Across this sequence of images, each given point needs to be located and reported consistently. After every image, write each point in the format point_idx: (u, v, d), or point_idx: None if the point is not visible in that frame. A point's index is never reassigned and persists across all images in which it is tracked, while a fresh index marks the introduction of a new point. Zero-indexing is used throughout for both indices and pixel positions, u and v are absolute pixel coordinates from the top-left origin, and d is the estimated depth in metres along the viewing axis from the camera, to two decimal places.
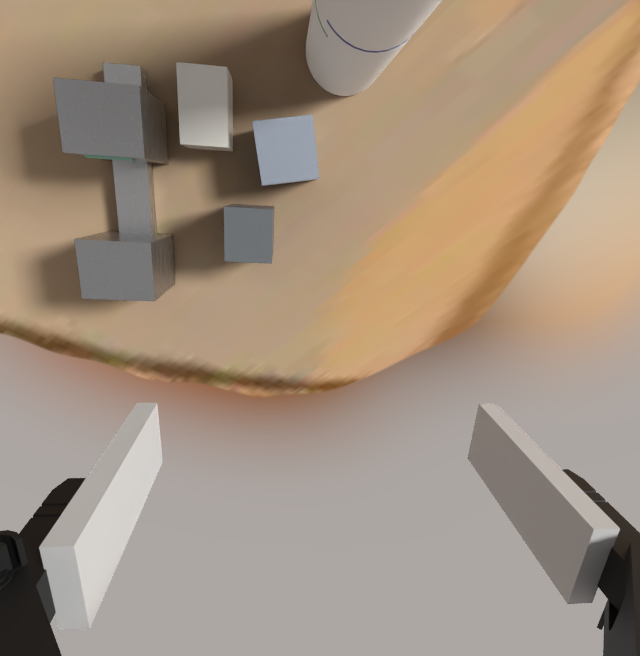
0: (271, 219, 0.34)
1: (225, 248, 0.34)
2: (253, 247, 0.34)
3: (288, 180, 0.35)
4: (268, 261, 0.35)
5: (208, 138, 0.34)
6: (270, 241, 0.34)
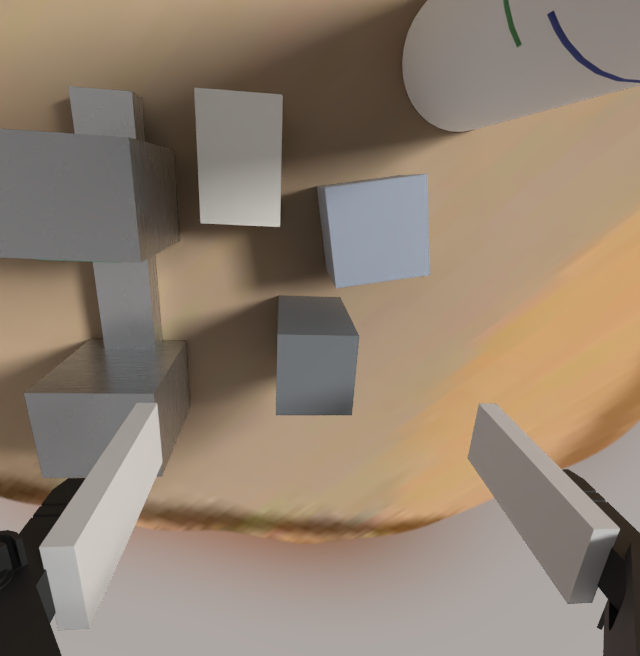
0: (356, 351, 0.20)
1: (278, 396, 0.20)
2: (324, 393, 0.21)
3: (379, 279, 0.21)
4: (347, 412, 0.21)
5: (248, 213, 0.20)
6: (352, 383, 0.21)
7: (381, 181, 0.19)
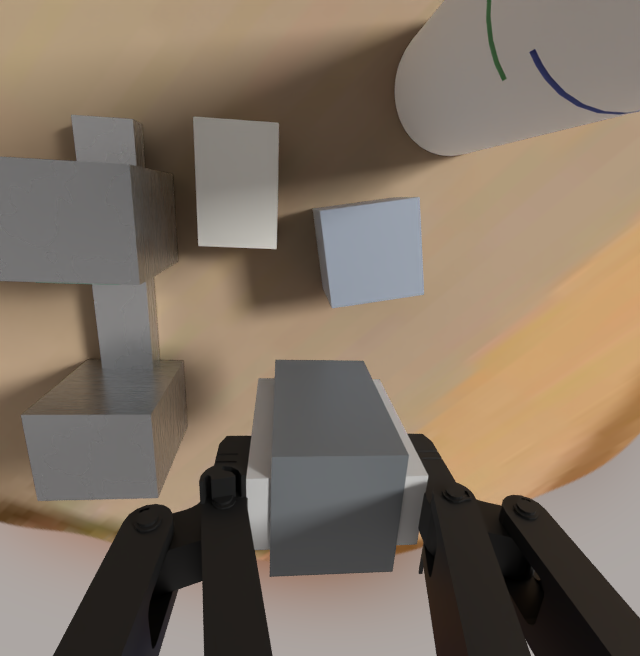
0: (402, 478, 0.12)
1: (273, 549, 0.12)
2: (348, 541, 0.13)
3: (374, 299, 0.21)
4: (384, 568, 0.13)
5: (245, 235, 0.21)
6: (394, 526, 0.13)
7: (375, 204, 0.20)
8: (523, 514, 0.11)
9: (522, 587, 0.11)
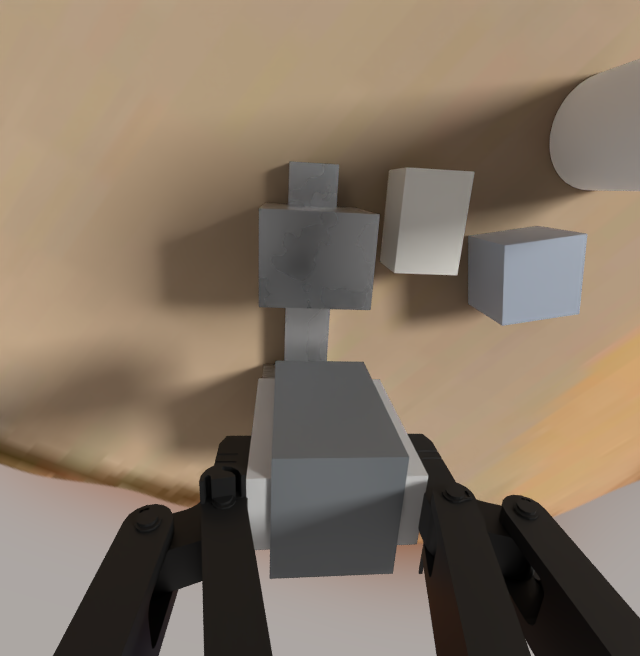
0: (403, 480, 0.12)
1: (273, 551, 0.12)
2: (349, 543, 0.13)
3: (538, 317, 0.25)
4: (385, 569, 0.13)
5: (433, 264, 0.24)
6: (395, 528, 0.13)
7: (550, 240, 0.24)
8: (523, 514, 0.11)
9: (522, 587, 0.11)
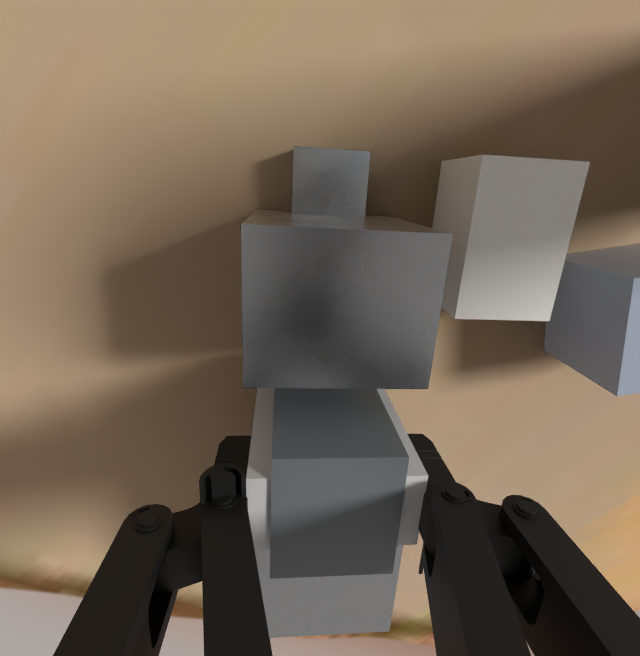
0: (403, 480, 0.12)
1: (273, 551, 0.12)
2: (349, 544, 0.13)
3: None
4: (385, 570, 0.13)
5: (514, 305, 0.16)
6: (395, 528, 0.13)
7: None
8: (523, 514, 0.11)
9: (522, 587, 0.11)
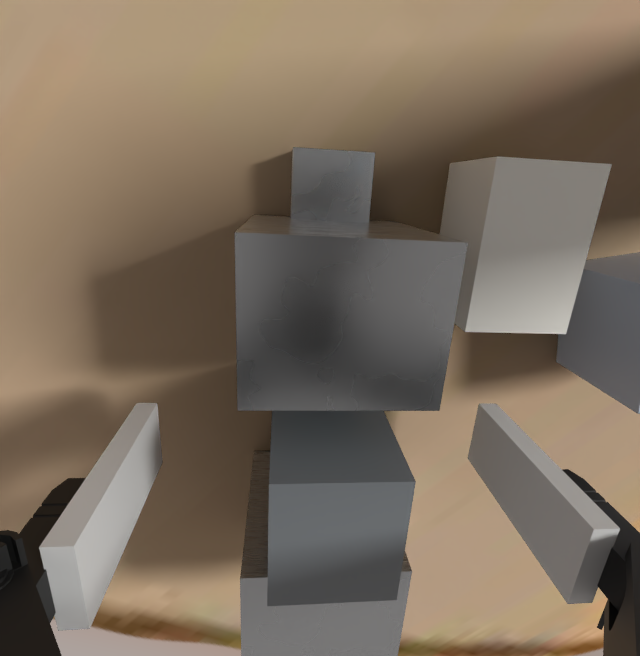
0: (408, 505, 0.11)
1: (271, 578, 0.12)
2: (351, 570, 0.12)
3: None
4: (388, 596, 0.12)
5: (529, 317, 0.15)
6: (399, 554, 0.12)
7: None
8: None
9: None
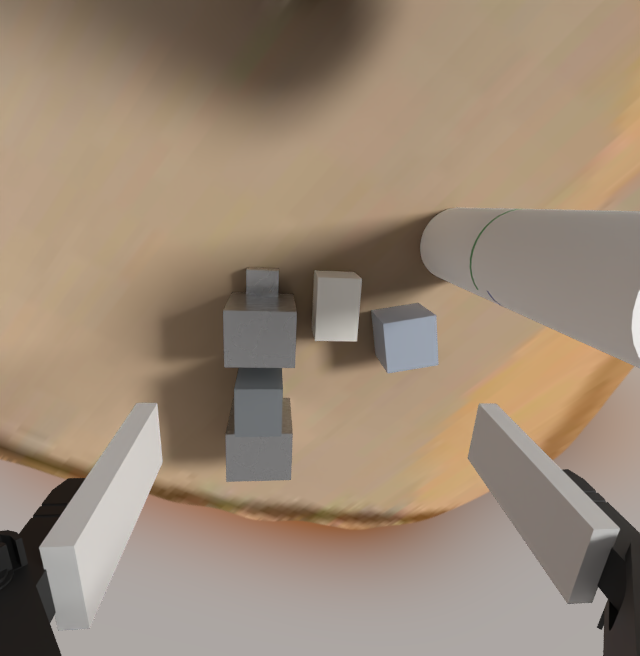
0: (281, 398, 0.34)
1: (235, 425, 0.34)
2: (263, 423, 0.34)
3: (411, 368, 0.38)
4: (278, 434, 0.35)
5: (340, 335, 0.38)
6: (280, 417, 0.34)
7: (412, 319, 0.37)
8: None
9: None
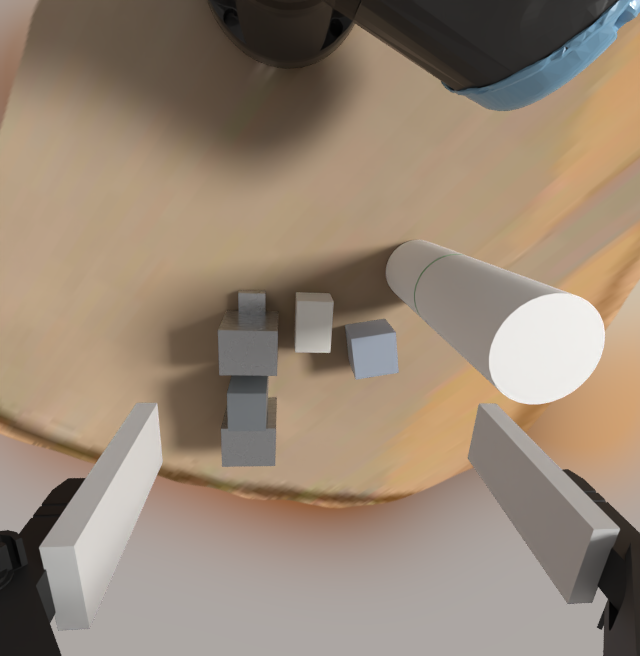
0: (265, 400, 0.42)
1: (228, 422, 0.42)
2: (251, 420, 0.42)
3: (375, 375, 0.46)
4: (263, 429, 0.43)
5: (316, 347, 0.45)
6: (264, 415, 0.42)
7: (375, 335, 0.44)
8: None
9: None
